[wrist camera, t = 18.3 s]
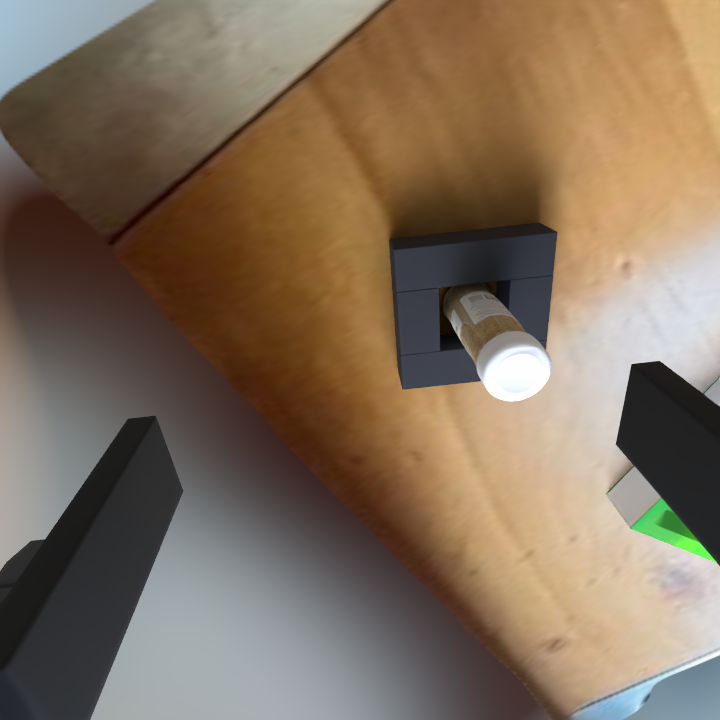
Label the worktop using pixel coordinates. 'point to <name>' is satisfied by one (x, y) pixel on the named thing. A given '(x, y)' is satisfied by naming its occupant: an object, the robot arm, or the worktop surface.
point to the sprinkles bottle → (496, 343)
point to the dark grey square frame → (459, 267)
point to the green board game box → (656, 506)
